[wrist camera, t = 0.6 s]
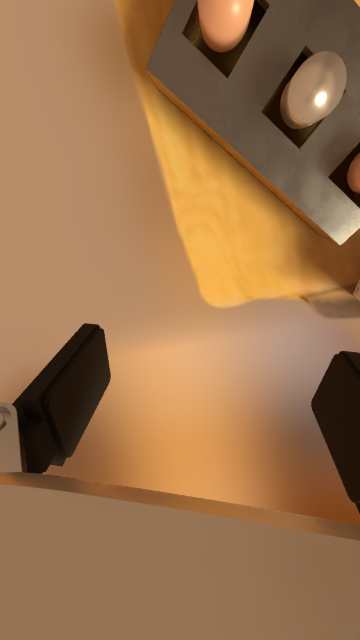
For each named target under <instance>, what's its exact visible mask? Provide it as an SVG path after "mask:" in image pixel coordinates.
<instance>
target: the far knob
mask: <svg viewBox="0 0 360 640" xmlns="http://www.w3.org/2000/svg"><path fill="white" fill-rule="evenodd" d="M347 181H348V185H349V187H350V188H351V189H352V190H353V191H354V192H357V193H360V153H359V154H358V155H357V156H356V157H355V158H354V160H353V161H352V163H351V165H350V167H349V169H348V173H347Z"/></svg>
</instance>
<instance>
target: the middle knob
mask: <svg viewBox="0 0 360 640" xmlns="http://www.w3.org/2000/svg"><path fill="white" fill-rule="evenodd" d="M346 78H347V75H346V67H345V64H344V62H343V60H342V59H341V57H339V56H338V55H337V54H336V53H333V52H330V51H323V52H319V53H316V54H314V55H312V56H311V57H309V58H308V59H307V60H306V61H305V62H304V63H303V64H302V65H301V66H300V68H299V69H298V70H297V72H296V73H295V74H294V75H293V77H292V78H291V79H290V81H289V82H288V83H287V85H286V87H285V89H284V91H283V93H282V97H281V101H280V112H281V116H282V119H283V120H284V122H285V123H286V124H287V125H288V126H289V127H291V128H294V129H303V128H306V127H308V126H310V125H312V124H314V123H315V122H317V121H319V120H321V119H323V118H324V117H326V116H327V115H328V114H330V113H331V112H332V111H333V109H334V108H335V107H336V106H337V104H338V103H339V101H340V99H341V97H342V95H343V92H344V89H345V86H346Z"/></svg>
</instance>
